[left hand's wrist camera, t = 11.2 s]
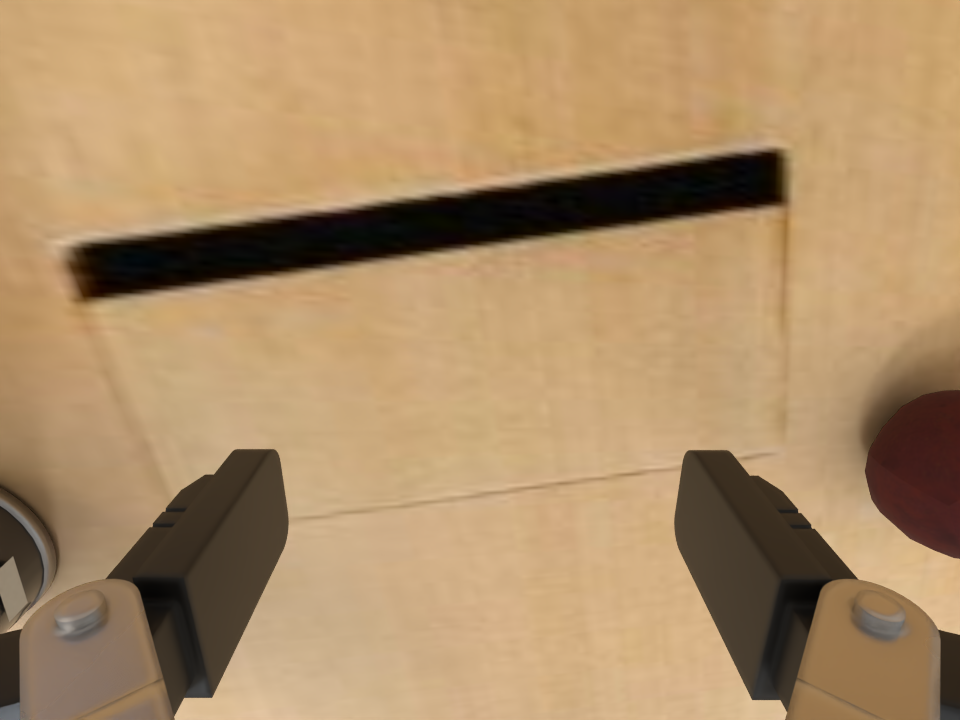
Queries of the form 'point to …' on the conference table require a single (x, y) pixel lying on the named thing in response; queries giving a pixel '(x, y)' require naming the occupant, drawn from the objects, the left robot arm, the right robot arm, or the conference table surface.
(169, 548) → the left robot arm
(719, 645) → the conference table surface
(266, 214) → the conference table surface
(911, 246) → the conference table surface
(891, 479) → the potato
